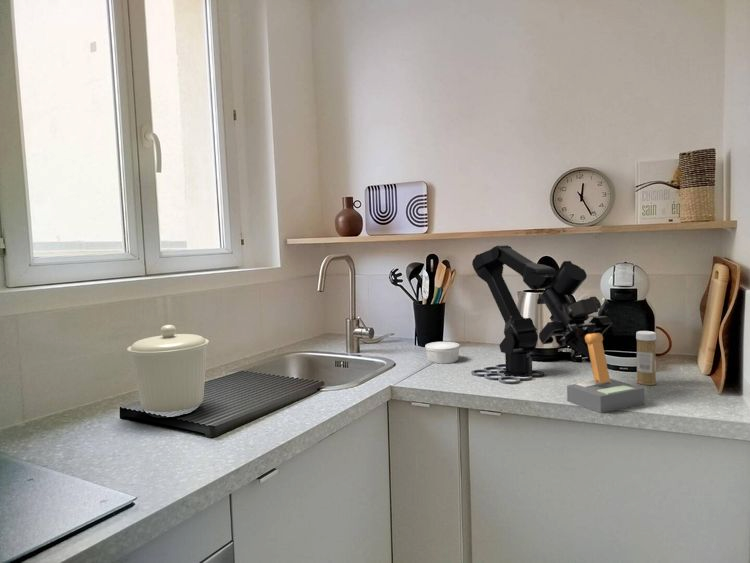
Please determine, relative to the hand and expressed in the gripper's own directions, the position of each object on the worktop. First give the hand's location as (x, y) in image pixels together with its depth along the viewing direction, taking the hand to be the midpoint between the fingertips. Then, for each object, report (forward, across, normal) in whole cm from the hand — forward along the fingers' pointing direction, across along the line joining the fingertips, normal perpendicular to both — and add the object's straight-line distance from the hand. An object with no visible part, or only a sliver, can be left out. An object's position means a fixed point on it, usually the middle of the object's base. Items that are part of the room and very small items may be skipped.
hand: (594, 358), depth 122 cm
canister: (-21, -92, +36) cm, 101 cm away
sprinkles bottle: (+4, +21, +10) cm, 24 cm away
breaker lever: (+6, 0, +2) cm, 6 cm away
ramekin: (-30, -10, +46) cm, 56 cm away
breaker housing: (+9, 0, +5) cm, 10 cm away
